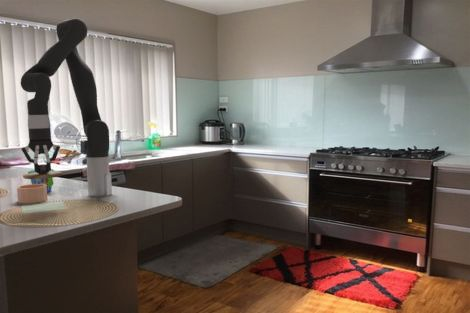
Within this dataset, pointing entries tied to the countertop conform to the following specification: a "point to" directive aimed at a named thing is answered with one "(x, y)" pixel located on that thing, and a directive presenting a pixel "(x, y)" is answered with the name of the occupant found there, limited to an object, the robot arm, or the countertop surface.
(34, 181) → the snack cup
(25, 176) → the lid
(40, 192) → the bowl
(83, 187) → the countertop surface
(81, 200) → the countertop surface
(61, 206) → the mat
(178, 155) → the countertop surface
